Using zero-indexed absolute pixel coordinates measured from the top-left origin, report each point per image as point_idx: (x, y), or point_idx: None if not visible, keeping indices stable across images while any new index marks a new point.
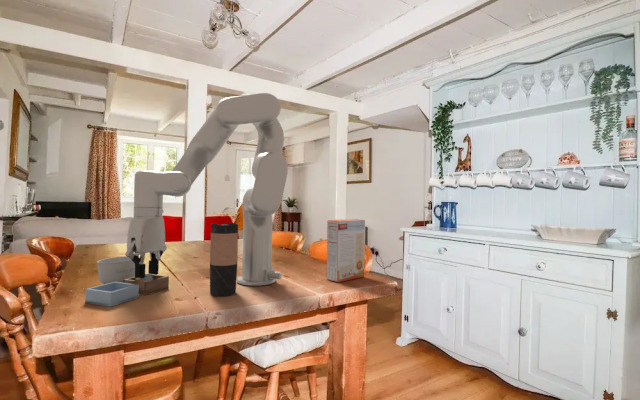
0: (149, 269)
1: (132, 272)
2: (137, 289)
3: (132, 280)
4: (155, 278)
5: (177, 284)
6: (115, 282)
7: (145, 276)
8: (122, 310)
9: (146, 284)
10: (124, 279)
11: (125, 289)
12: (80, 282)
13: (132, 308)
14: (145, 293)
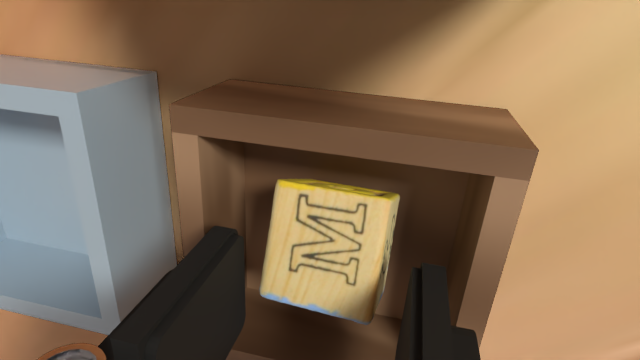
0: (408, 312)
1: None
2: None
3: (188, 218)
4: (460, 276)
5: (586, 346)
6: (62, 124)
7: (289, 297)
8: (23, 317)
9: None
10: (178, 114)
11: (27, 309)
12: None
13: (60, 339)
14: None
